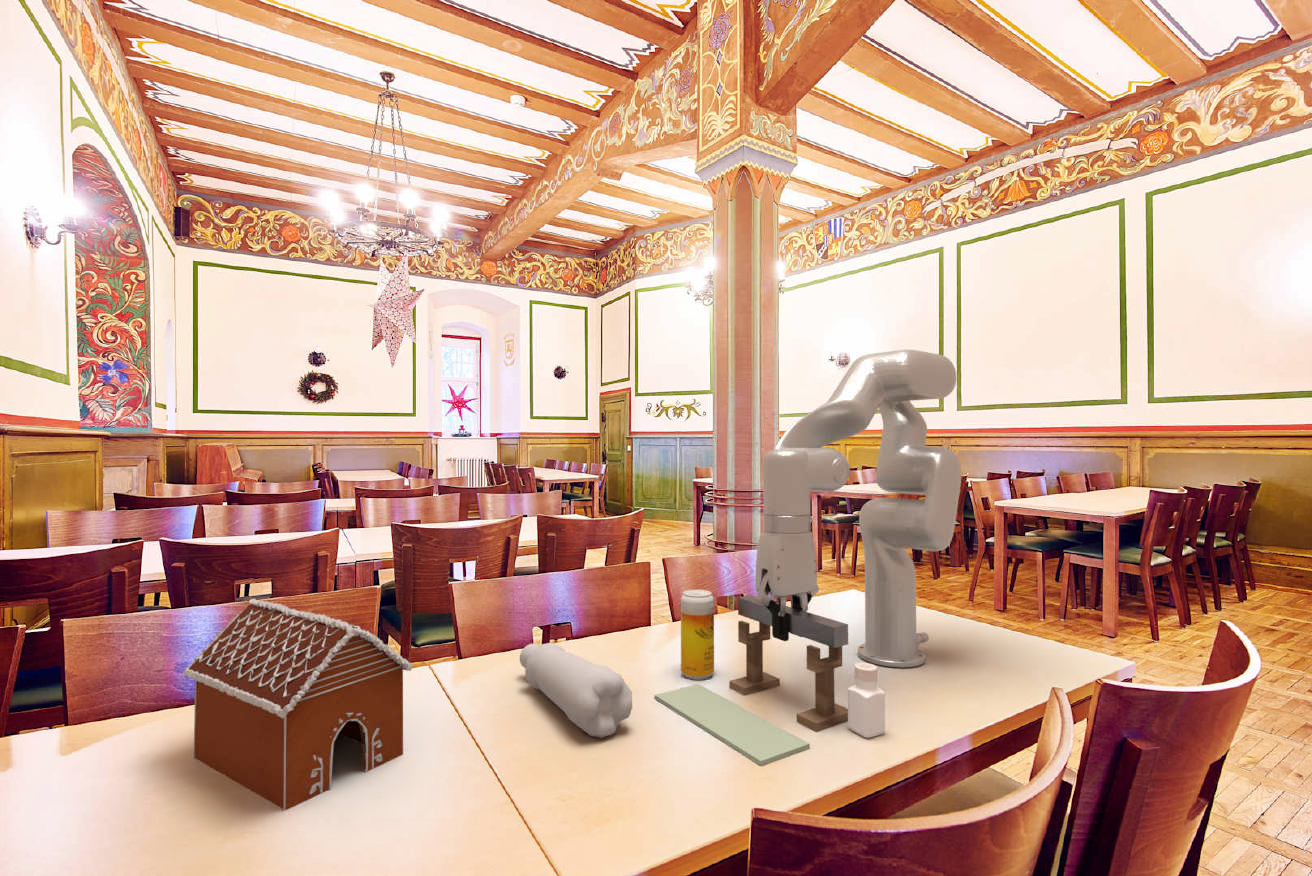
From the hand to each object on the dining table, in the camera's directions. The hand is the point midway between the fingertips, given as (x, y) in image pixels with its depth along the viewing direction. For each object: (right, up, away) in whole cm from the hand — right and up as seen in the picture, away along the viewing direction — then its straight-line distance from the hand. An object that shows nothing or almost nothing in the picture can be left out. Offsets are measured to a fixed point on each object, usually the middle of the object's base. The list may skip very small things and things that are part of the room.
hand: (788, 635), depth 102 cm
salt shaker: (+9, -11, -11) cm, 18 cm away
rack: (0, -11, 0) cm, 11 cm away
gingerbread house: (-70, -11, -18) cm, 73 cm away
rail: (0, +1, 0) cm, 1 cm away
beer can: (-14, -11, +12) cm, 22 cm away
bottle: (-36, -11, -1) cm, 38 cm away
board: (-11, -11, -7) cm, 17 cm away
